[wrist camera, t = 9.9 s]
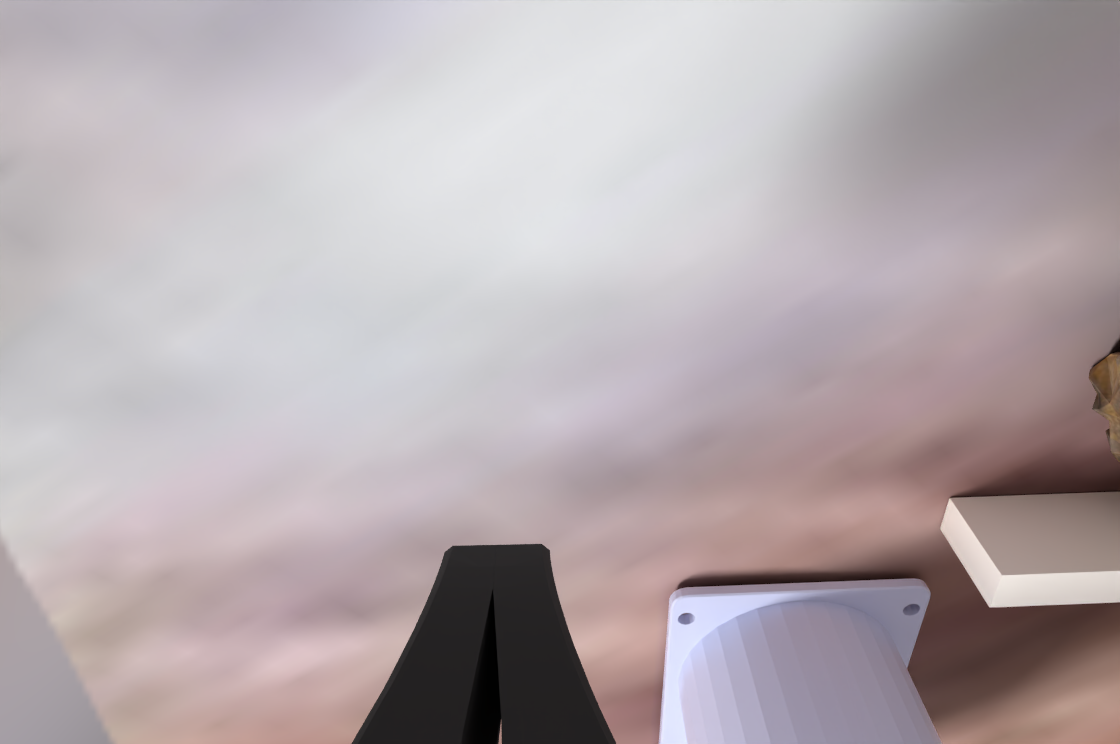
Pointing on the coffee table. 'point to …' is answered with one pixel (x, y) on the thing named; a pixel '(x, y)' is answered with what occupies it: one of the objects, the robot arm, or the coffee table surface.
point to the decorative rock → (1108, 397)
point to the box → (1038, 547)
